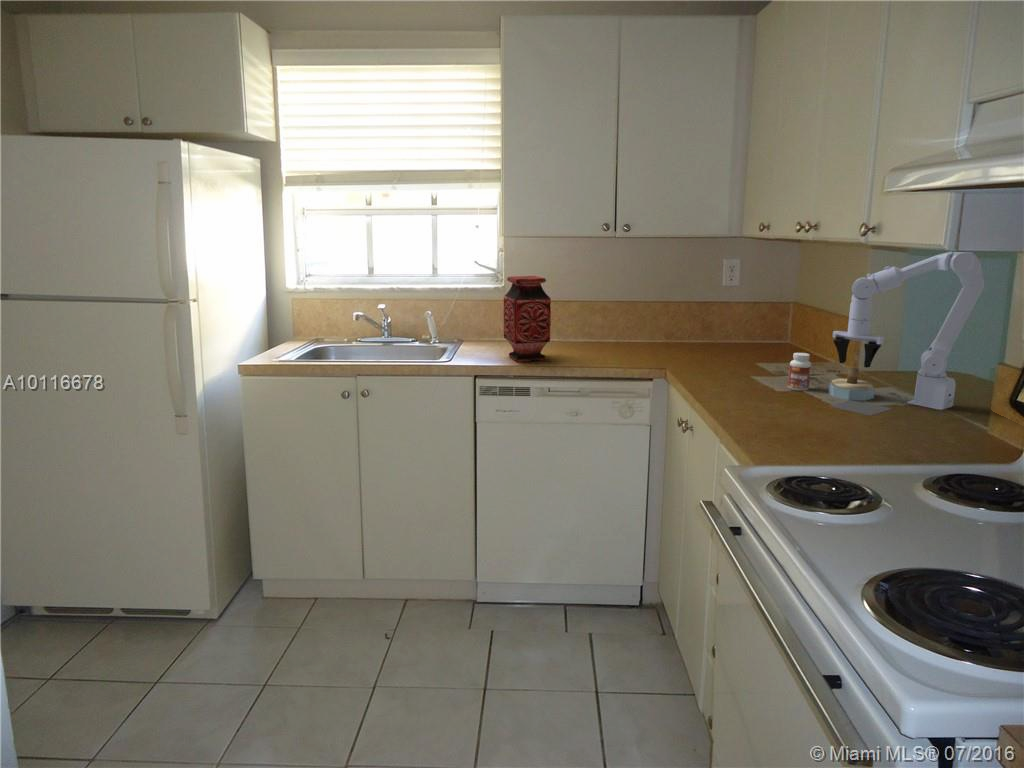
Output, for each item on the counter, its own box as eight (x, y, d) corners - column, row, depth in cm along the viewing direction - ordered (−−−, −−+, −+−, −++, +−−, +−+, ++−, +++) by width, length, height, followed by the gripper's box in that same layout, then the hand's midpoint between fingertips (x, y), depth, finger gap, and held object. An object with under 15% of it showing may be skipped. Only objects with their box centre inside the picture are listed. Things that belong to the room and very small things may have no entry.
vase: (537, 354, 284) (538, 275, 277) (550, 361, 271) (551, 278, 264) (503, 356, 280) (503, 276, 273) (514, 363, 267) (514, 279, 260)
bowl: (879, 397, 220) (881, 386, 219) (859, 403, 213) (860, 391, 213) (843, 390, 229) (844, 379, 228) (822, 395, 222) (823, 384, 222)
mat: (892, 410, 207) (892, 408, 206) (869, 416, 200) (869, 415, 199) (851, 401, 216) (851, 399, 216) (828, 407, 209) (828, 406, 209)
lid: (879, 389, 215) (882, 372, 214) (844, 390, 214) (846, 373, 213) (858, 380, 226) (860, 364, 225) (824, 381, 225) (826, 365, 224)
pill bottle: (787, 390, 229) (790, 354, 226) (787, 385, 234) (791, 351, 232) (808, 392, 227) (812, 356, 224) (808, 387, 232) (812, 352, 230)
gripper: (891, 321, 212) (885, 367, 216) (843, 315, 224) (839, 359, 227) (878, 323, 208) (873, 370, 211) (830, 317, 220) (826, 362, 223)
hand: (854, 364), depth 219 cm, fingers open, 7 cm apart
